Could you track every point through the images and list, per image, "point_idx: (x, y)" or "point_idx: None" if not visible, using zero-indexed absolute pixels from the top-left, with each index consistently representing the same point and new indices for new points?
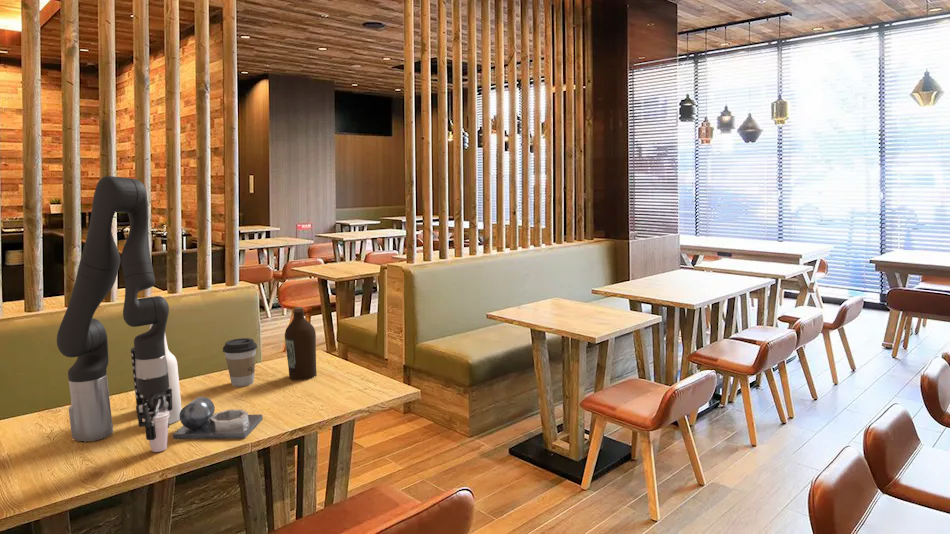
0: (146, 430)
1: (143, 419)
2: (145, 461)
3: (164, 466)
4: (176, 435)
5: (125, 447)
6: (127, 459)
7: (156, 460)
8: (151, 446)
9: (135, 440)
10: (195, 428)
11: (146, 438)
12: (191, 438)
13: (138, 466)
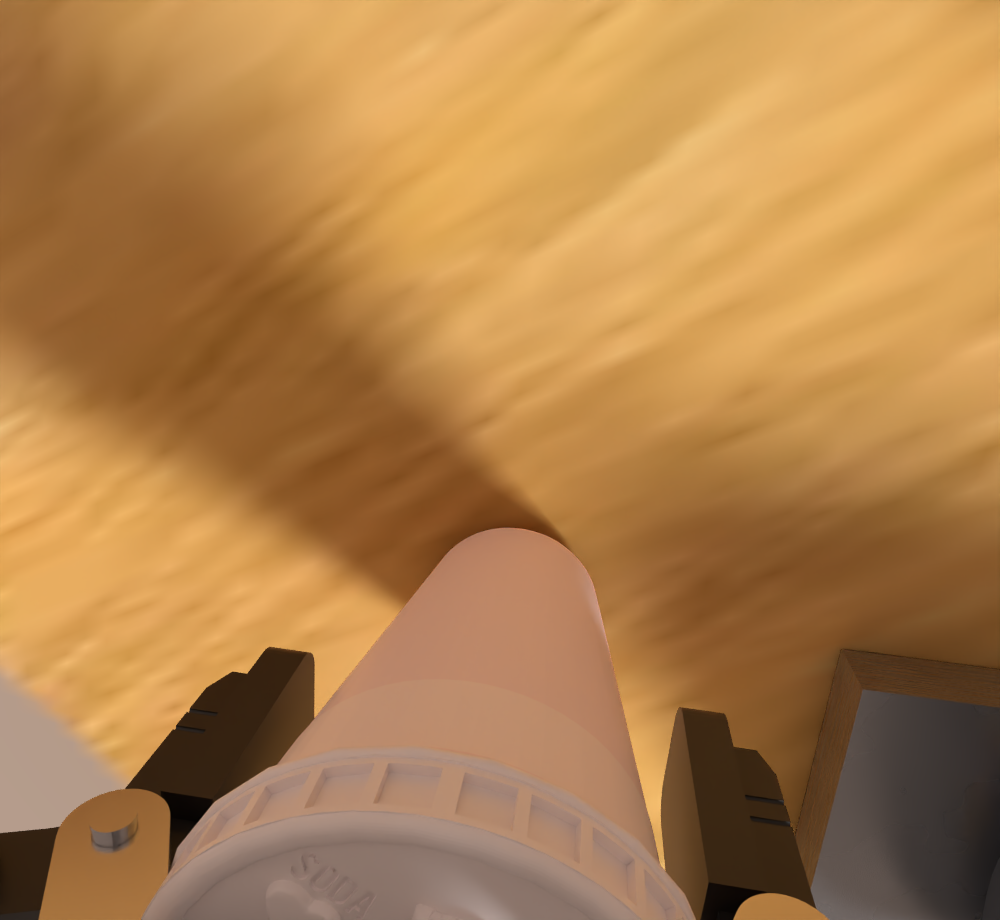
0: (150, 777)
1: (258, 796)
2: (230, 550)
3: (127, 761)
4: (845, 719)
5: (684, 92)
6: (282, 320)
7: (254, 650)
8: (426, 579)
9: (950, 123)
10: (987, 907)
11: (264, 653)
12: (796, 842)
13: (112, 524)
